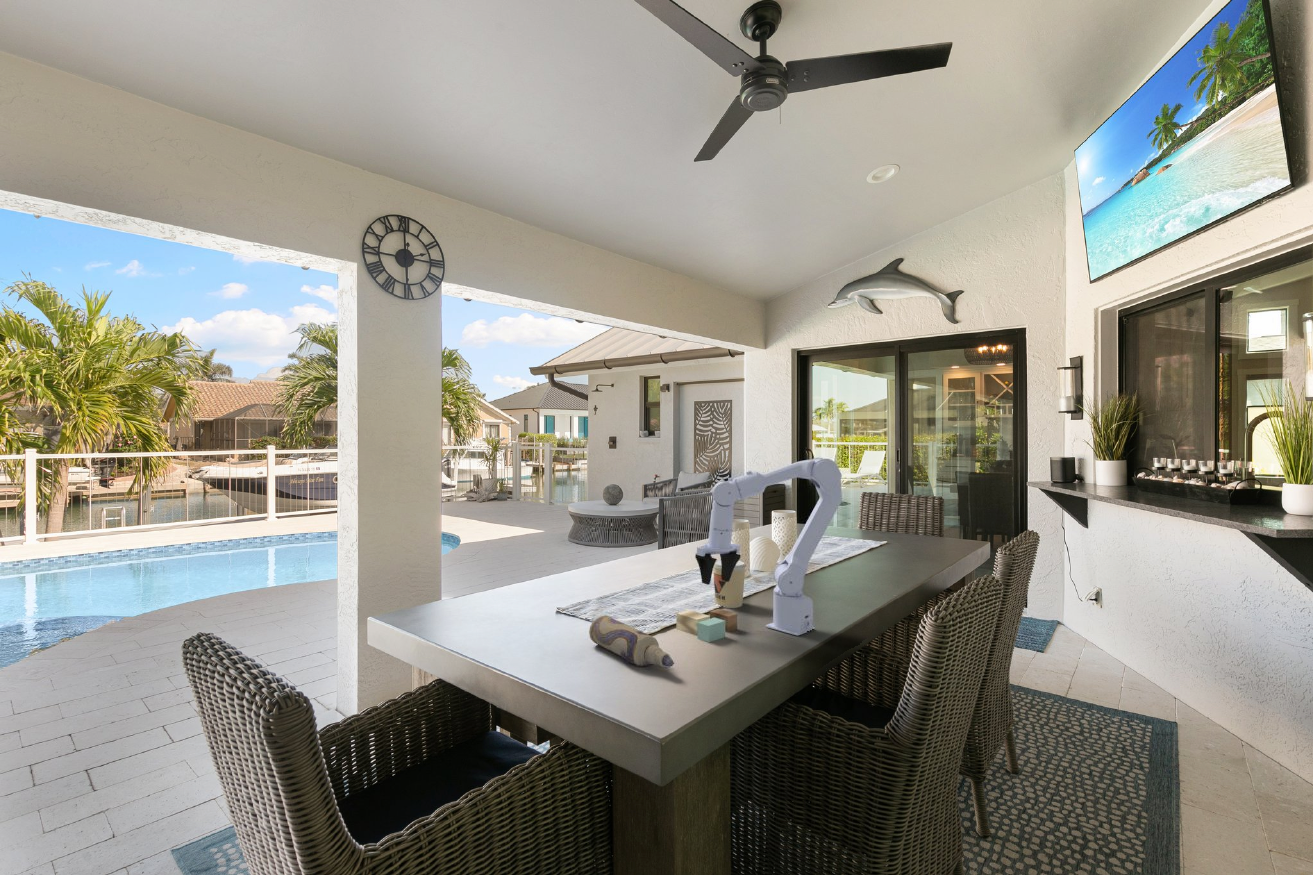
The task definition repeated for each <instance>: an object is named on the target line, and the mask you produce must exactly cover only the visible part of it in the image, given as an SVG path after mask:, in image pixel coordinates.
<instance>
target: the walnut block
mask: <svg viewBox="0 0 1313 875" xmlns="http://www.w3.org/2000/svg"><path fill="white" fill-rule="evenodd" d="M709 616H710V619H711V618H718V619H721V620H725V633H730V632H733V631H736V630H738V613H735V612H732V611H728V610H725V609H721V608H717V609H714V610H710V611H709Z"/></svg>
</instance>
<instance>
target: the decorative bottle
mask: <svg viewBox="0 0 1313 875" xmlns="http://www.w3.org/2000/svg"><path fill="white" fill-rule="evenodd" d="M588 632H589V634H588V635H589V639H590V640H591V641H592V642H593V643H594V644H596V645H598V646H601V647H602V648H605V649H606V650H608V651H610V652H613V653H614V654H616V655H618V656H620V657H621V658H622V659H623V660H624V661H626V662H627V663H629V664H632V665H634V666H637V667H646V666H650V665H651V666H654V665H656V666H660V667H662V668H664V667H668V668H670V667H673V666H674V664H675V662H674V661H673V660H674V659H672V657H671V655H670V654H669V653H667V652H665V651H664V650H663V649H662V648H661V647H660V644H659V642H658V639H657V638H656V637H654V636H653V635H650V634H648V633H646V632H643V631H641V630H640V629H638V628H635V627H633V626H630V625H628V624H626V623H624V622H622V621H620V620H617V619H615V618H613V617H611V616H609V615H601V616H598V617H596V618H595V619H593V621H592V622H591V625H590V627H589V631H588Z"/></svg>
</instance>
